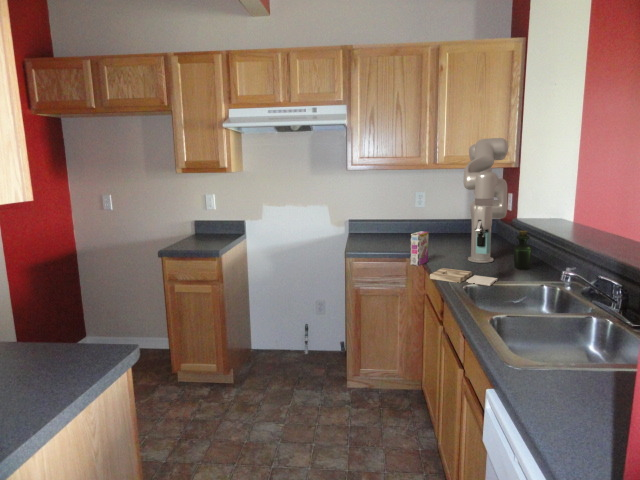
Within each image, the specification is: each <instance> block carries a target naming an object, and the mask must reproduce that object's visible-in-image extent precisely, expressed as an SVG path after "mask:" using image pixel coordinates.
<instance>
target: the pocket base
mask: <svg viewBox="0 0 640 480" xmlns="http://www.w3.org/2000/svg"><path fill="white" fill-rule="evenodd" d="M472 275H473V273H472V271H468V270H461V269H455V268H454V269H451V268H443V267H441V268H439V269H437V270H436V271H434V272H432V273H430V274H429V279H430V280H437V281H444V282H449V283H450V282H451V283H457V282H459V283H458V284H461V283H463V282H464V281H467V280H468V279H469V278H471V277H473V276H472ZM462 281H463V282H462Z"/></svg>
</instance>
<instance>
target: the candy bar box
mask: <svg viewBox="0 0 640 480" xmlns="http://www.w3.org/2000/svg"><path fill="white" fill-rule="evenodd" d="M429 233H430V232H429V231H424V230H423V231H417V232H414V233H410V258H409V259H410V263H409V265H410V266H415V267H420V266H421V265H422V266H423V265H424V264H427V263H428V262H429V237H430V236H429V235H430V234H429Z"/></svg>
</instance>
